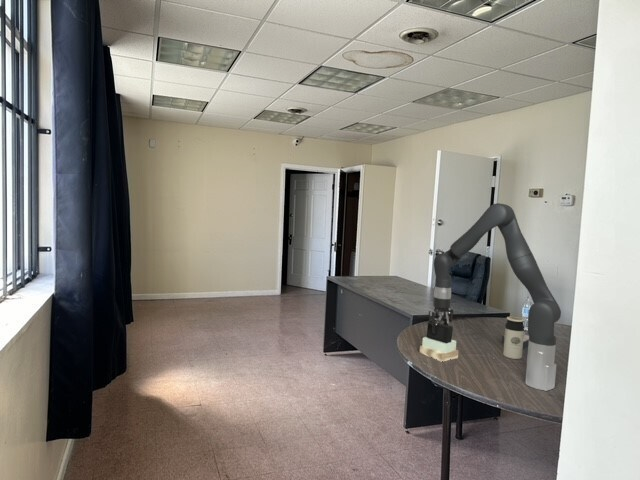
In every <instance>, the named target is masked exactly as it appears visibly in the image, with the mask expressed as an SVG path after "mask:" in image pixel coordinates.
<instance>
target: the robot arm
mask: <svg viewBox="0 0 640 480" xmlns="http://www.w3.org/2000/svg"><path fill="white" fill-rule="evenodd" d="M495 227H497V228H498V230H499V231H500V233H501V235H502V237H503V240H504V242H505V243H504V244H505V252H506V253H505V254H506V259H507V261H508V263H509V265H510V268H511V269H512V271H513V272H512V273H514V275H515V277H516V278H517V279H518V281H520V283H521V284H522V285H523V286H524V287H525V289H526V290H527V291H528V293H529V295H530V298H531V299H532V303H533V304H532V305H530V308H529V310H528V317H527V334H528V336H529V344H528V346H527V357H526V358H527V359H526V370H525V372H526V373H525V384H526V386H528V387H531V388H532V389H536V390H541V391H545V392H547V391H550V390H552V389H555V386H556V385H555V384H556V373H557V363H555V360H556V359H555V358H556V357H555V356H556V347H557V345H556V344H557V337H556V335H555V332H554V331H555V323H556V322H558V321H559V320H560V319H561V316H562V311H561V307H560V306H559V304H558V302H557V300H556V299H555V297H554V296H553V294H552V292H551V290H550V289H549V287H548V286H547V283H546V281H545V278H544V276H543V274H542V271H541V270H540V268H539V265H538V263H537V262H538V261H537V260H536V258H535V256H534V254H533V252H532V250H531V249H530V246H529V244H528V242H527V240H526V238H525V237H524V234H523V233H522V231H521V228H520V224H519V223H518V219H517V216H516V213H515V210H514V209H513V208H512V207H511V206H510V205H509V204H504V203H501V202H500V203H493V204H492V205H490V206H489V207H488V208H487V209H486V210H485V211H484V213H482V215H481V216H480V217H479V219H478V220H477V221H476V222H475V223H474V224H473V225H472V226H471V227H470V228H469V229H468V230H466V232H465V233H463V235H461V236H460V237H459V238H458V239H456V240H455V241H454V242H453V243H452V244H451V245H450V248H449V249H448V250H447V251H446V252H443V253H442V252H441V253H438V254H437V255H436V256H435V257H434V260H433V270H434V275H435V283H434V291H433V303H432V305H433V307H434V309H433V310H428V322H429V324H432V333H434V334H437V327H438V326H437V325H438V323H440V322H441V320H442V322H443V323H442V324H444V325H448V326H449V325H450V323H452V322H453V316H454V309H451V302H452V299H451V298H452V276H451V274H450V273H449V269H450V268H452V267H454V266H455V265H456V264H457V263H458V262H459V261H460V260H462V257H464V256H465V255H466V254H467V253H469V252H471V250H472V249H474V247H476V246H477V244H478V243H479V241H481V239H482V238H483V236H485V235H486V234H487V233H488V232H489V231H491V230H492V229H494V228H495ZM435 322H436V323H435Z"/></svg>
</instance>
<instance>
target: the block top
mask: <svg viewBox="0 0 640 480" xmlns="http://www.w3.org/2000/svg"><path fill="white" fill-rule="evenodd" d="M421 344H422V346H423V347H426V348H429V349H432V350H435V351H439V352H442V353H445V354H446V353H448V352H451V351H453V350H457V340H454V339H452V340H451V342H448V343H445V342H442V341H438V340H435V339H431V338H428V337H427V336H424V337H422V341H421Z"/></svg>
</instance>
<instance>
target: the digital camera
mask: <svg viewBox="0 0 640 480" xmlns="http://www.w3.org/2000/svg"><path fill="white" fill-rule="evenodd" d="M435 323H436V321H435ZM437 326H438V327H437V334H434V333H432V324H429V321H428V323H427V330H426V337H428V338H431V339H435V340H438V341H442V342H445V343H448V342H451V340H453V339H452V338H453V330H454V329H453V326H451V325H449V324H448V325H444V324H443V323H440V322H439V323H438V325H437Z"/></svg>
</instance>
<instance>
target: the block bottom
mask: <svg viewBox="0 0 640 480" xmlns="http://www.w3.org/2000/svg"><path fill="white" fill-rule="evenodd" d="M419 354H422V355H425V356H427V357H428V358H431V357H432V358H431V359H434V360H436V359H437V360H436V361H439V362H441V363H443V362H446V361H451V360H454V359H455V360H456V359H458V358H459V350H457V349H456V350H453V351H451V352H448V353H446V354H445V353H442V352H439V351H435V350H432V349H429V348H426V347H423V346H422V345H421V344H420V345H419ZM450 359H451V360H450ZM442 361H443V362H442Z"/></svg>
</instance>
